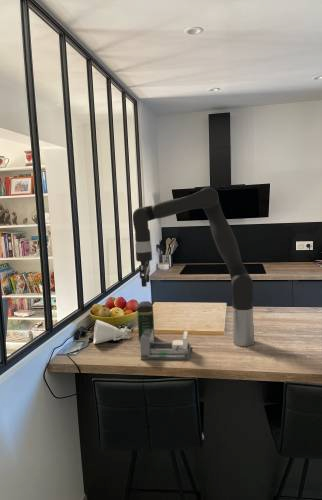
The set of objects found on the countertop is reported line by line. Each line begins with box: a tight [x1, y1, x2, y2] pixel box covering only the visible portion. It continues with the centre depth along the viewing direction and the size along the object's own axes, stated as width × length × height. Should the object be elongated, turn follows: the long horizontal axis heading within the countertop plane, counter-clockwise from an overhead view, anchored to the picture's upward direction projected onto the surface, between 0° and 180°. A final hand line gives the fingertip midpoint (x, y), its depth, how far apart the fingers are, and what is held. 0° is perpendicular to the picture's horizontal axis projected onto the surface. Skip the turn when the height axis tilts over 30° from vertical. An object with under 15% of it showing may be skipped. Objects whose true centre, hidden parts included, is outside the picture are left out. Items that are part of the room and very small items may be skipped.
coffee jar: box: [136, 301, 155, 341], centre depth 185 cm, size 10×8×19 cm
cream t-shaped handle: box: [171, 330, 189, 351], centre depth 166 cm, size 7×11×7 cm, turn 172°
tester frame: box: [139, 329, 192, 361], centre depth 168 cm, size 21×14×9 cm, turn 82°
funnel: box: [93, 319, 132, 345], centre depth 187 cm, size 12×12×18 cm
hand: (145, 284), depth 177 cm, fingers open, 8 cm apart
